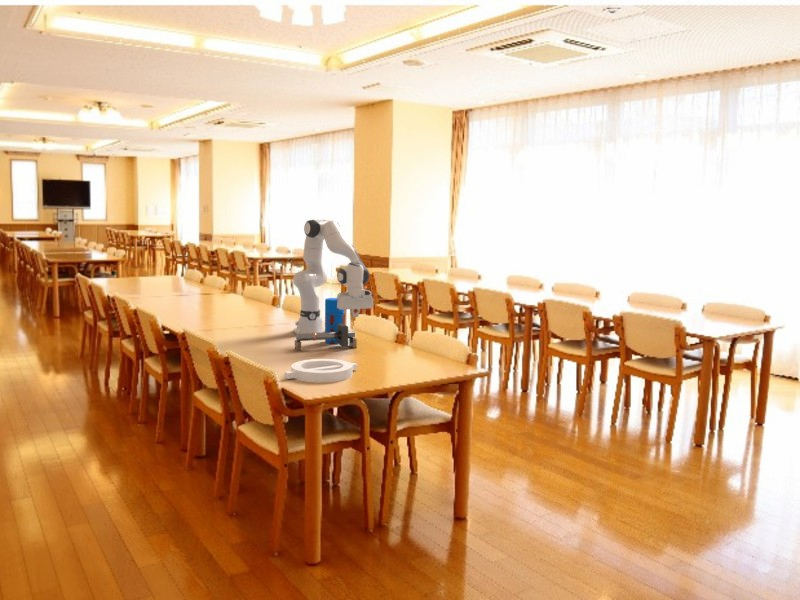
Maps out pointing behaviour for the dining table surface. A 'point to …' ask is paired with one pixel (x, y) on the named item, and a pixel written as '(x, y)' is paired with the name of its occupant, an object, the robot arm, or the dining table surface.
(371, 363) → the dining table surface
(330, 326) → the thermos
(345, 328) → the collar
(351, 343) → the pipe rig
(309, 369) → the ring with crossbar
